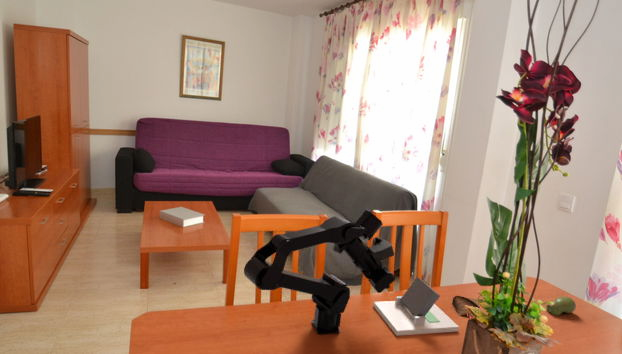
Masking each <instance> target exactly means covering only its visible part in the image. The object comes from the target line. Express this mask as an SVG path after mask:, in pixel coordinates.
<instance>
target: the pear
mask: <svg viewBox="0 0 622 354" xmlns="http://www.w3.org/2000/svg"><path fill="white" fill-rule="evenodd" d="M551 302H553V303H554V305H549V304H546V306H545V307H546V311H547V312H548V313H550V314H551V315H553V316H560V315H561V314H562V313H565V314H572V313H573V312H575V310H576V308H577V304H576V302H575V300H574V299H573V298H571V297H569V296H559V297H556V298H555V299H554V300H553V301H551Z"/></svg>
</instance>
